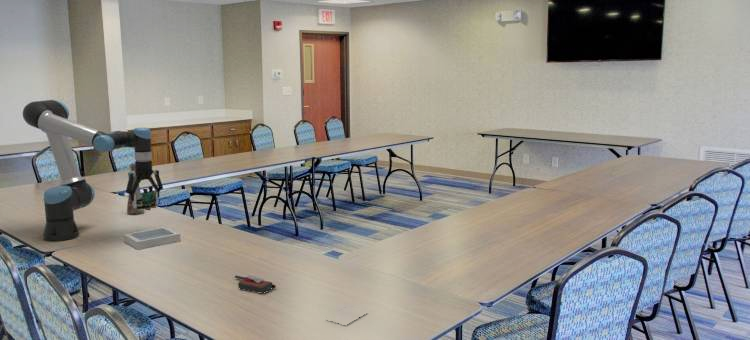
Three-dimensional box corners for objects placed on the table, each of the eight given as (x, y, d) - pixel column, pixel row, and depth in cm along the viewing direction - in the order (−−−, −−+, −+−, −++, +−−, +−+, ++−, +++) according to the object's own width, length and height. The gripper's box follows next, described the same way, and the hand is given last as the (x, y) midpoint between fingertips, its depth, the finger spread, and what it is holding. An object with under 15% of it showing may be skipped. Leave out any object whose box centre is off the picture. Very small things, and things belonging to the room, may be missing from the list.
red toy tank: (279, 288, 223) (237, 279, 231) (279, 276, 222) (236, 268, 231) (265, 296, 215) (221, 286, 224) (264, 284, 214) (221, 275, 223)
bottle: (141, 215, 324) (138, 164, 319) (124, 215, 324) (121, 164, 319) (147, 211, 333) (144, 161, 328) (131, 211, 333) (128, 161, 328)
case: (123, 241, 276) (123, 234, 276) (165, 233, 290) (165, 226, 289) (137, 249, 265) (137, 242, 264) (180, 240, 278) (180, 233, 278)
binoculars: (139, 186, 292) (157, 185, 290) (141, 207, 294) (160, 206, 292) (128, 189, 284) (146, 189, 282) (131, 211, 285) (149, 211, 283)
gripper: (122, 163, 274) (124, 210, 278) (169, 159, 290) (171, 204, 294) (116, 161, 280) (118, 207, 284) (162, 157, 295) (164, 201, 299)
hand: (145, 205), depth 289 cm, fingers closed on binoculars, 10 cm apart
